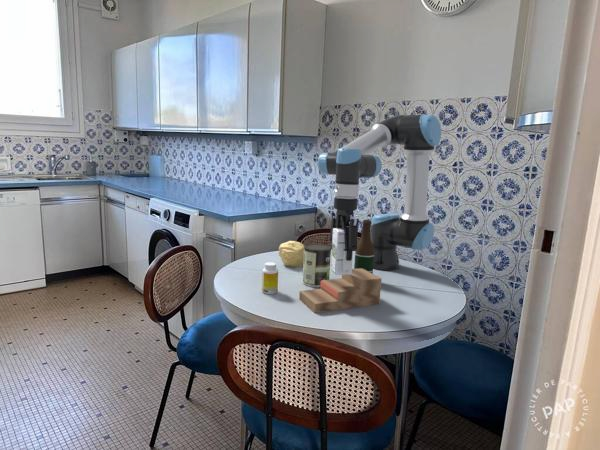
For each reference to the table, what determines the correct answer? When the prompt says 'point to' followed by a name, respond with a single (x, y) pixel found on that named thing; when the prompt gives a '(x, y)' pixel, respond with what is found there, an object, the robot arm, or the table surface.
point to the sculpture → (292, 253)
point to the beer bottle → (365, 249)
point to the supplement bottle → (270, 278)
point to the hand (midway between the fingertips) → (341, 266)
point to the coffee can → (316, 264)
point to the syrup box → (338, 252)
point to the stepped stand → (344, 292)
